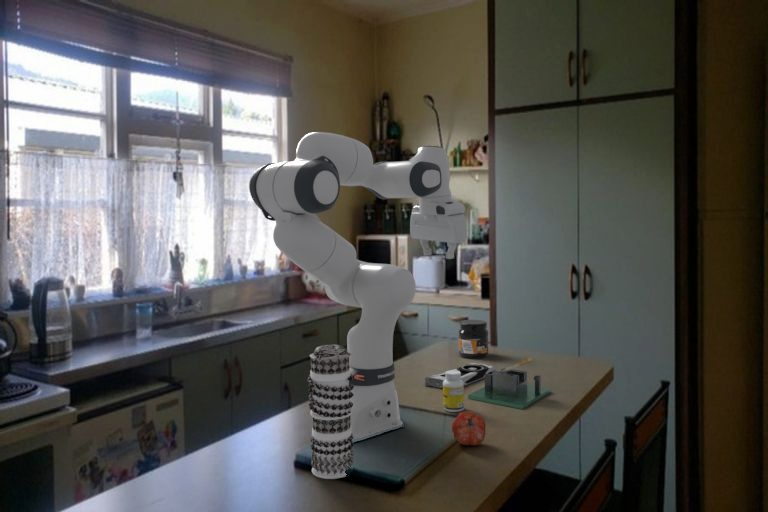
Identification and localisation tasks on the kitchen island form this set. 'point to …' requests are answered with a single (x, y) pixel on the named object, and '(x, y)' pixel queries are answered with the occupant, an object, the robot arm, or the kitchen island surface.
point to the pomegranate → (469, 428)
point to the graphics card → (462, 375)
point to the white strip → (515, 365)
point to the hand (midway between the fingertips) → (438, 256)
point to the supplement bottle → (453, 391)
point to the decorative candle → (330, 411)
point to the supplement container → (473, 339)
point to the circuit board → (510, 389)
